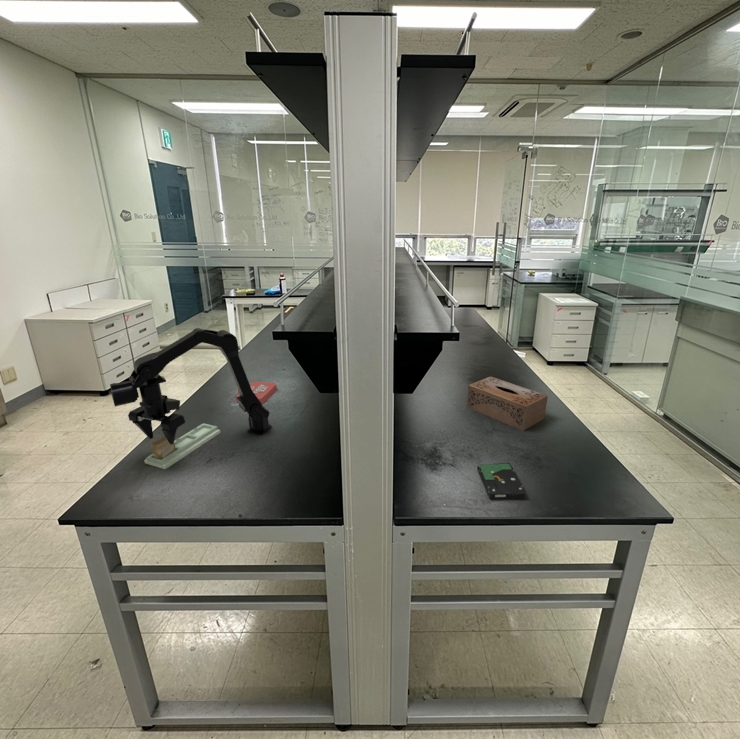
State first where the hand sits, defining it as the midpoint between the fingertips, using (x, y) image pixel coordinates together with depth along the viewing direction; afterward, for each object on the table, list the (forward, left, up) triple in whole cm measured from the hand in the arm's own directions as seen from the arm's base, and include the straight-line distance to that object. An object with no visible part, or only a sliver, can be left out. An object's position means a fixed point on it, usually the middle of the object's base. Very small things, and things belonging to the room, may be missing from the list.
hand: (161, 441), depth 136 cm
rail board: (0, -8, -7) cm, 11 cm away
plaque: (+5, -52, -8) cm, 53 cm away
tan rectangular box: (0, 0, -6) cm, 6 cm away
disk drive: (-103, -29, -8) cm, 107 cm away
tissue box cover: (-99, -76, -7) cm, 125 cm away
